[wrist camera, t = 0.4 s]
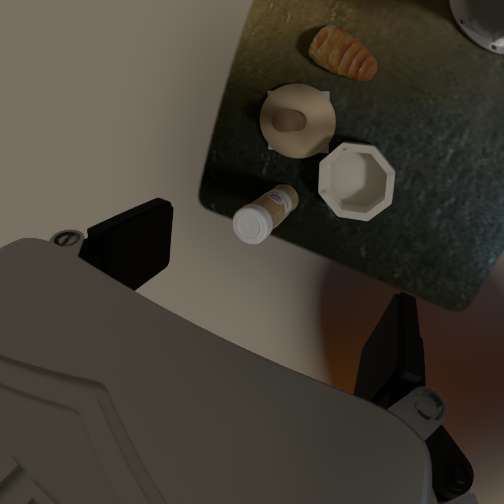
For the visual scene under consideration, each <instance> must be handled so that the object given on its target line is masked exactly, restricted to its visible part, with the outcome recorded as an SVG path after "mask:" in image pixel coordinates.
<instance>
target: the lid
mask: <svg viewBox="0 0 504 504" xmlns="http://www.w3.org/2000/svg"><path fill="white" fill-rule="evenodd" d="M260 126H261V130H262V133H263V136H264V138H265V139H266V141H267V142H268V144H269V145H270V146H271V147H272V148H273V149H274V150H276V151H277V152H279V153H280V154H282V155H285V156H287V157H291V158H306V157H310V156H313V155H315V154H317V153H319V152H320V151H322V150H323V149H324V148H325V147H326V146H327V145H328V144H329V143H330V141H331V139H332V138H333V135H334V132H335V128H336V117H335V112H334V109H333V107H332V105H331V103H330V101H329V100H328V99H327V97H326V96H325V95H324V94H323V93H321V92H320V91H319V90H317V89H315V88H313V87H311V86H308V85H304V84H288V85H284V86H282V87H280V88H278V89H276V90H275V91H273V92H272V93H271V94H270V95H269V96H268V97H267V99H266V100H265V102H264V104H263V106H262V109H261V113H260Z"/></svg>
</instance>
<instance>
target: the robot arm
mask: <svg viewBox="0 0 504 504" xmlns="http://www.w3.org/2000/svg"><path fill="white" fill-rule="evenodd" d="M448 2H449V8H450V11H451V14H452V16H453V18H454V20H455V22H456V24H457V25H458V26H459V28H460V29H461V31H462V32H463V33H464V34H465V35H466V36H467V37H468V38H469V39H470V40H471V41H472V42H473V43H475V44H476V45H478V46H479V47H480V48H482V49H484V50H486V51H488V52H490V53H493V54H497V55H504V0H449V1H448ZM460 22H462V24H461V23H460ZM492 48H493V49H492ZM172 220H173V207H172V206H171V203H170V202H169V201H167V200H164V199H161V198H156V199H153V200H151V201H148V202H146V203H143V204H141V205H139V206H137V207H134V208H132V209H130V210H127V211H125V212H123V213H121V214H118V215H116V216H114V217H112V218H110V219H107V220H105V221H103V222H101V223H99V224H97V225H94V226H92V227H90V228H88V229H87V233H88V238H86V239H84V235H83V233H81V232H80V231H77V230H64V231H60V232H58V233H56V234H55V235H53V236H52V238H51V239H50V241H45V240H42V239H36V238H23V239H19V240H17V241H14V242H12V243H10V244H8V245H6V246H4V247H2V248H0V504H478V502H477V499H476V496H475V493H473V494H470V491H469V489H470V487H471V486H472V483H473V478H474V477H473V476H474V474H473V469H472V466H471V464H470V462H469V461H468V460H467V458H466V457H465V455H464V454H463V453H462V451H461V450H460V449H459V447H458V446H457V444H456V443H455V442H454V440H453V439H452V438H451V436H450V435H449V434H448V432H447V431H446V430H445V428H444V427H443V426H442V423H443V422H444V420H445V418H446V416H447V406H446V404H445V401H444V399H443V398H442V397H441V395H440V394H439V393H438V392H437V391H435V390H433V389H432V388H429V387H426V385H425V364H424V349H423V339H422V338H421V337H420V333H419V323H418V314H417V305H416V298H415V297H413V296H411V295H408V294H406V293H404V292H401V293H400V294H399V295H398V294H395V295H394V296H393V298H392V300H391V302H390V303H389V305H388V307H387V309H386V310H385V312H384V314H383V315H382V317H381V319H380V321H379V322H378V324H377V326H376V327H375V329H374V331H373V332H372V334H371V335H370V337H369V339H368V340H367V342H366V343H365V345H364V347H363V350H362V353H361V358H360V364H359V369H358V375H357V379H356V384H355V389H354V394H350V393H348V392H346V391H343V390H341V389H338V388H336V387H333V386H331V385H329V384H326V383H324V382H321V381H318V380H316V379H313V378H311V377H309V376H306V375H304V374H301V373H299V372H296V371H294V370H292V369H289V368H287V367H284V366H282V365H280V364H278V363H275V362H273V361H271V360H269V359H266V358H264V357H262V356H260V355H258V354H255V353H253V352H251V351H249V350H247V349H244V348H242V347H240V346H238V345H236V344H234V343H232V342H230V341H227V340H226V339H224V338H221V337H219V336H217V335H215V334H213V333H211V332H209V331H207V330H205V329H203V328H201V327H199V326H198V325H195V324H193V323H192V322H190V321H188V320H186V319H184V318H182V317H180V316H178V315H177V314H175V313H172V312H171V311H169V310H167V309H165V308H164V307H162V306H160V305H158V304H156V303H155V302H153V301H151V300H149V299H147V298H146V297H144V296H142V295H141V294H139V293H137V292H135V290H136V289H138V288H139V287H140V286H142V285H143V284H144V283H146V282H147V281H149V280H150V279H151V278H152V277H154V276H155V275H157V274H158V273H159V272H161V271H162V270H163V269H165V268H166V267H167V266H168V264H169V260H170V245H171V232H172Z"/></svg>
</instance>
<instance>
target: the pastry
mask: <svg viewBox="0 0 504 504" xmlns="http://www.w3.org/2000/svg"><path fill="white" fill-rule="evenodd" d="M308 54H309V56H310V57H311V58H312V59H313V60H314V61H315V62H316V64H317V65H319V66H320V67H323V68H325V69H327V70H329V71H330V72H332V73H335V74H338V75H341V76H345V77H347V78H350V79H353V80H357V81H368V80H370V79H371V78H372V77H373V76H374V75H375V73H376V71H377V64H376V60H375V58H374V57H373V56H372V55H371V54H370V52H369V50H368V49H367V48H366V47H365V46H364V45H363V44H361V43H360V41H359V40H358V38H357V37H354V36H352V35H350V34H349V33H347V32H346V31H345V30H344V29H343V28H338V27H336V26H335V25H327V26H325V27H324V28H322V29H321V30H320V31H319V32H318V33H317V35H316V36H315V37H314V38H313V41H312V43H311V44H310V47H309V53H308Z"/></svg>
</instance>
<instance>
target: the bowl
mask: <svg viewBox="0 0 504 504" xmlns="http://www.w3.org/2000/svg"><path fill="white" fill-rule="evenodd" d="M394 179H395V170H394V168H393V167H392V165H391V164H390V163H389V162H388V160H387V159H386V158H385V156H384V155H383V154H382V153H381V152H380V150H379V149H378V148H377V147H376V146H375V145H373V144H365V143H358V142H347V141H345V142H343V143H342V144H341V145H340V146H338V147H337V148H336V149H335V150H334V151H333V152H331V153H330V154H329V155H328V156H327V157H326V158H324V159H323V160H322V161H321V162H320V166H319V189H318V193H319V194H320V196H321V197H322V198H323V199H324V200H325V201H326V203H327V204H328V205H329V206H330V207H331V209H332V210H333V211H334V212H335V214H336V215H337V216H338V217H345V218H351V219H358V220H364V221H368V220H370V219H371V218H373V217H374V216H375V215H377V214H378V213H379V212H381V211H382V210H383V209H385V208H386V207H388V206H389V205H390V204H392V196H393V188H394Z"/></svg>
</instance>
